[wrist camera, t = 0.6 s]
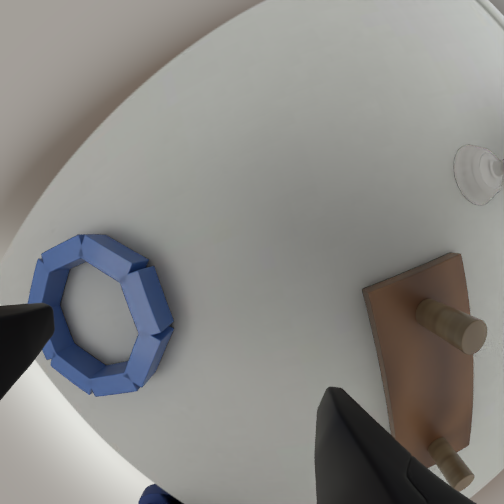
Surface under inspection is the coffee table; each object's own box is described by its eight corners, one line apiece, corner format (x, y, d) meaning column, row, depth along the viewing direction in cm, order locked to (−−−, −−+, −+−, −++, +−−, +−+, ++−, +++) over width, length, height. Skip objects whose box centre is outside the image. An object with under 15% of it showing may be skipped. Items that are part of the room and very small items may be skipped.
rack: (395, 472, 20) (418, 522, 13) (361, 289, 20) (406, 316, 12) (462, 437, 20) (496, 477, 12) (450, 252, 19) (515, 259, 12)
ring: (81, 386, 22) (65, 399, 19) (35, 264, 21) (15, 268, 18) (192, 366, 21) (182, 383, 18) (138, 216, 20) (120, 214, 18)
